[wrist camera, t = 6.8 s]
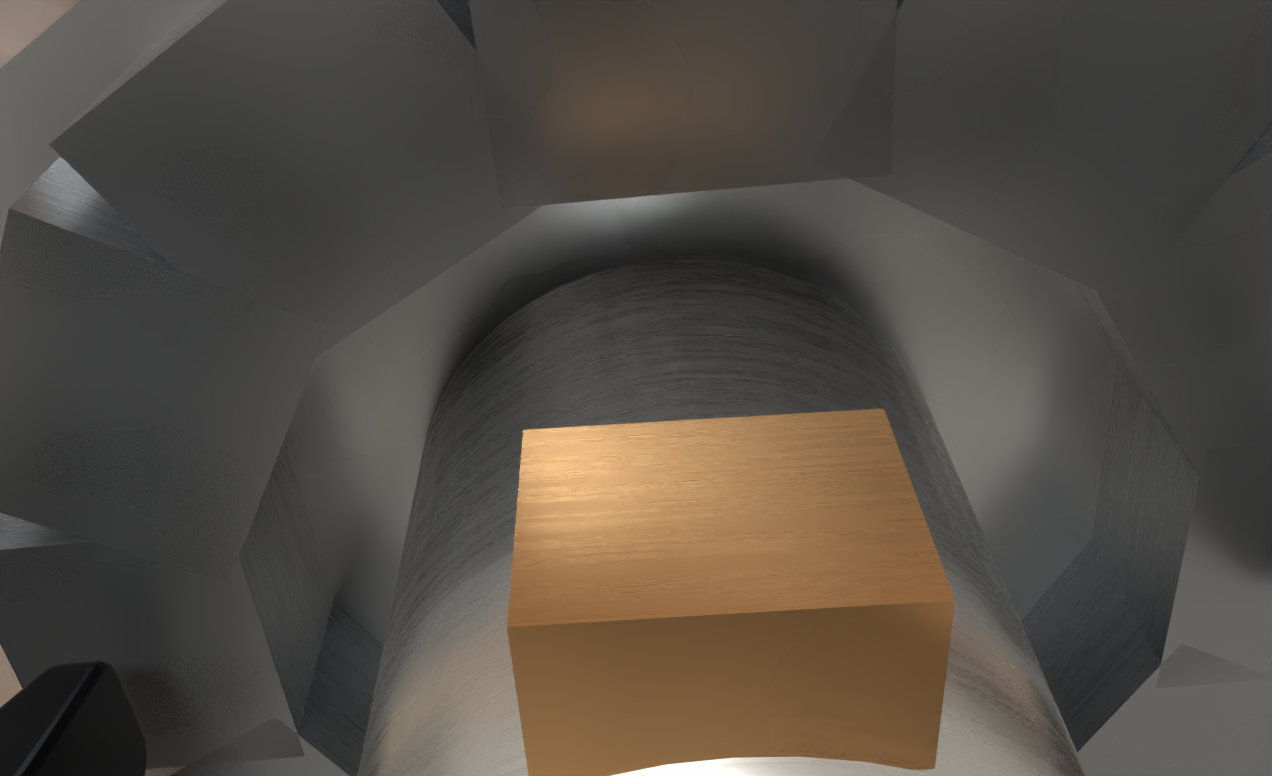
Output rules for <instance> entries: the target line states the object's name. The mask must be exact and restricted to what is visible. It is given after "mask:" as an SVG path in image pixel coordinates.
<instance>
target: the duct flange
mask: <svg viewBox="0 0 1272 776" xmlns="http://www.w3.org/2000/svg"><path fill="white" fill-rule="evenodd" d="M669 259H710V260H718V261H726V262H735V263H743V264H748V265H752V266H756V267H760V268H764V269H768V270H772V271H777V272H780V273H783V274H786V275H788V276H791V277H793V278H796V279H799V280H801V281H804V282H806V283H809V284H812V285H814V286H816V287H818V288H819V289H821V290H823V291H825V292H827V293H829V294H830V295H832V296H834V297H836V298H838V299H840V300H841V301H843V302H845V303H846V304H847V305H849V306H850V307H851V308H853V309H854V310H855V311H857V312H858V313H859V314H861V315H862V316H864V317H865V318H866V319H868V320H869V321H870V322H871V323H872V324H873V325H874V326H875V327H876V328H877V329H878V330H879V331H880V332H881V333H882V334H883V335H884V336H885V337H886V338H887V339H888V340H889V341H890V342H891V343H892V344H893V345H894V347H895V348H896V349H897V351H898V352H899V354H900V355H901V356H902V358H903V359H904V360H905V362H906V363H907V364H908V366H909V367H910V369H911V371H912V373H913V375H914V377H915V379H916V381H917V383H918V385H919V387H920V388H921V390H922V392H923V395H924V397H925V399H926V402H927V404H928V406H929V408H930V411H931V413H932V415H933V418H934V420H935V422H936V425H937V427H938V429H939V432H940V434H941V436H942V439H943V441H944V443H945V446H946V448H947V450H948V453H949V455H950V457H951V460H952V462H953V464H954V467H955V469H956V471H957V474H958V476H959V478H960V481H961V483H962V485H963V488H964V490H965V492H966V495H967V497H968V499H969V502H970V504H971V506H972V509H973V511H974V513H975V516H976V518H977V520H978V523H979V525H980V527H981V530H982V532H983V534H984V537H985V539H986V541H987V544H988V546H989V548H990V551H991V553H992V555H993V557H994V560H995V562H996V564H997V567H998V569H999V571H1000V574H1001V576H1002V578H1003V581H1004V583H1005V585H1006V588H1007V590H1008V592H1009V595H1010V597H1011V599H1012V602H1013V604H1014V606H1015V609H1016V611H1017V613H1018V616H1019V618H1020V620H1021V623H1022V625H1023V627H1024V630H1025V632H1026V634H1027V637H1028V639H1029V641H1030V644H1031V646H1032V648H1033V651H1034V653H1035V655H1036V658H1037V660H1038V662H1039V665H1040V667H1041V669H1042V672H1043V674H1044V676H1045V679H1046V681H1047V683H1048V686H1049V688H1050V690H1051V693H1052V695H1053V697H1054V700H1055V702H1056V704H1057V707H1058V709H1059V711H1060V713H1061V716H1062V718H1063V720H1064V723H1065V725H1066V727H1067V730H1068V732H1069V734H1070V737H1071V739H1072V741H1073V744H1074V746H1075V748H1076V751H1077V753H1078V755H1079V758H1080V760H1081V762H1082V765H1083V767H1084V769H1085V772H1086V774H1087V776H1272V0H81V1H80V2H79V3H78V4H76V5H75V6H74V7H73V8H72V9H70V10H69V11H68V12H67V13H66V14H65V15H63V16H62V17H61V18H60V19H59V20H57V21H56V22H55V23H54V24H53V25H52V26H50V27H49V28H48V29H47V30H46V31H44V32H43V33H42V34H41V35H40V36H39V37H37V38H36V39H35V40H34V41H33V42H31V43H30V44H29V45H28V46H27V47H26V48H24V49H23V50H22V51H21V52H20V53H18V54H17V55H16V56H15V57H14V58H13V59H11V60H10V61H9V62H8V63H7V64H5V65H4V66H3V67H2V68H1V69H0V644H1V646H2V648H3V650H4V652H5V654H6V656H7V658H8V660H9V662H10V664H11V666H12V668H13V670H14V672H15V674H16V676H17V678H18V680H19V682H20V684H21V686H22V688H24V687H26V686H27V685H28V684H29V683H30V682H31V681H33V680H34V679H35V678H36V677H37V676H39V675H40V674H41V673H42V672H44V671H45V670H47V669H48V668H50V667H52V666H55V665H59V664H68V663H81V662H93V661H102V662H107V663H109V664H110V665H112V666H113V667H114V668H115V669H116V671H117V673H118V675H119V676H120V679H121V681H122V683H123V686H124V688H125V690H126V693H127V695H128V697H129V700H130V702H131V704H132V707H133V709H134V711H135V714H136V716H137V718H138V721H139V723H140V725H141V728H142V730H143V733H144V736H145V740H146V745H147V767H146V773H145V776H357V775H358V770H359V765H360V760H361V755H362V750H363V745H364V741H365V736H366V731H367V726H368V721H369V716H370V711H371V706H372V701H373V696H374V691H375V686H376V681H377V676H378V671H379V666H380V661H381V656H382V651H383V646H384V641H385V636H386V631H387V626H388V621H389V616H390V611H391V606H392V602H393V597H394V592H395V587H396V582H397V577H398V572H399V567H400V562H401V557H402V552H403V547H404V542H405V537H406V532H407V527H408V522H409V517H410V512H411V507H412V502H413V497H414V492H415V487H416V482H417V477H418V472H419V467H420V463H421V458H422V453H423V448H424V444H425V439H426V435H427V431H428V427H429V422H430V420H431V417H432V415H433V413H434V410H435V408H436V405H437V403H438V400H439V398H440V396H441V394H442V392H443V390H444V389H445V387H446V386H447V384H448V382H449V381H450V379H451V377H452V376H453V374H454V372H455V371H456V369H457V368H458V367H459V365H460V364H461V363H462V362H463V360H464V359H465V358H466V357H467V356H468V354H469V353H470V352H471V351H472V350H473V348H474V347H475V346H476V345H477V344H478V343H479V342H480V341H481V340H482V339H483V338H484V337H485V336H487V335H488V334H489V333H490V332H491V331H492V330H493V329H494V328H495V327H496V326H497V325H499V324H500V323H501V322H502V321H503V320H505V319H506V318H508V317H509V316H511V315H512V314H513V313H515V312H516V311H518V310H519V309H521V308H522V307H524V306H525V305H526V304H528V303H529V302H531V301H533V300H535V299H537V298H539V297H541V296H543V295H544V294H546V293H548V292H550V291H552V290H554V289H556V288H558V287H560V286H562V285H564V284H567V283H570V282H572V281H575V280H578V279H581V278H583V277H586V276H589V275H591V274H594V273H597V272H601V271H605V270H609V269H613V268H618V267H622V266H626V265H630V264H635V263H644V262H652V261H661V260H669Z"/></svg>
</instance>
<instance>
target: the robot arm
mask: <svg viewBox="0 0 1272 776" xmlns="http://www.w3.org/2000/svg"><path fill="white" fill-rule="evenodd" d="M146 767H147V745H146V740H145V736H144V733H143V730H142V728H141V725H140V723H139V721H138V718H137V716H136V714H135V711H134V709H133V707H132V704H131V702H130V700H129V697H128V695H127V693H126V690H125V688H124V686H123V683H122V681H121V679H120V676H119V675H118V673H117V671H116V669H115V668H114V667H113V666H112V665H110V664H109V663H107V662H102V661H93V662H81V663H68V664H59V665H55V666H52V667H50V668H48V669H47V670H45V671H44V672H42V673H41V674H40V675H39V676H37V677H36V678H35V679H34V680H33V681H31V682H30V683H29V684H28V685H27V686H26V687H24V688H23V689H22V690H21V691H20V692H18V693H17V694H16V695H15V696H14V697H13V698H11V699H10V700H9V701H8V702H7V703H5V704H4V705H3V706H2V707H1V708H0V776H145V773H146Z"/></svg>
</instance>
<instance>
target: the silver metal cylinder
mask: <svg viewBox="0 0 1272 776" xmlns="http://www.w3.org/2000/svg"><path fill="white" fill-rule="evenodd" d="M357 776H1087V774H1086V772H1085V769H1084V767H1083V765H1082V762H1081V760H1080V758H1079V755H1078V753H1077V751H1076V748H1075V746H1074V744H1073V741H1072V739H1071V737H1070V734H1069V732H1068V730H1067V727H1066V725H1065V723H1064V720H1063V718H1062V716H1061V713H1060V711H1059V709H1058V707H1057V704H1056V702H1055V700H1054V697H1053V695H1052V693H1051V690H1050V688H1049V686H1048V683H1047V681H1046V679H1045V676H1044V674H1043V672H1042V669H1041V667H1040V665H1039V662H1038V660H1037V658H1036V655H1035V653H1034V651H1033V648H1032V646H1031V644H1030V641H1029V639H1028V637H1027V634H1026V632H1025V630H1024V627H1023V625H1022V623H1021V620H1020V618H1019V616H1018V613H1017V611H1016V609H1015V606H1014V604H1013V602H1012V599H1011V597H1010V595H1009V592H1008V590H1007V588H1006V585H1005V583H1004V581H1003V578H1002V576H1001V574H1000V571H999V569H998V567H997V564H996V562H995V560H994V557H993V555H992V553H991V551H990V548H989V546H988V544H987V541H986V539H985V537H984V534H983V532H982V530H981V527H980V525H979V523H978V520H977V518H976V516H975V513H974V511H973V509H972V506H971V504H970V502H969V499H968V497H967V495H966V492H965V490H964V488H963V485H962V483H961V481H960V478H959V476H958V474H957V471H956V469H955V467H954V464H953V462H952V460H951V457H950V455H949V453H948V450H947V448H946V446H945V443H944V441H943V439H942V436H941V434H940V432H939V429H938V427H937V425H936V422H935V420H934V418H933V415H932V413H931V411H930V408H929V406H928V404H927V402H926V399H925V397H924V395H923V392H922V390H921V388H920V387H919V385H918V383H917V381H916V379H915V377H914V375H913V373H912V371H911V369H910V367H909V366H908V364H907V363H906V362H905V360H904V359H903V358H902V356H901V355H900V354H899V352H898V351H897V349H896V348H895V347H894V345H893V344H892V343H891V342H890V341H889V340H888V339H887V338H886V337H885V336H884V335H883V334H882V333H881V332H880V331H879V330H878V329H877V328H876V327H875V326H874V325H873V324H872V323H871V322H870V321H869V320H868V319H866V318H865V317H864V316H862V315H861V314H859V313H858V312H857V311H855V310H854V309H853V308H851V307H850V306H849V305H847V304H846V303H845V302H843V301H841V300H840V299H838V298H836V297H834V296H832V295H830V294H829V293H827V292H825V291H823V290H821V289H819V288H818V287H816V286H814V285H812V284H809V283H806V282H804V281H801V280H799V279H796V278H793V277H791V276H788V275H786V274H783V273H780V272H777V271H772V270H768V269H764V268H760V267H756V266H752V265H748V264H743V263H735V262H726V261H718V260H710V259H669V260H661V261H652V262H644V263H635V264H630V265H626V266H622V267H618V268H613V269H609V270H605V271H601V272H597V273H594V274H591V275H589V276H586V277H583V278H581V279H578V280H575V281H572V282H570V283H567V284H564V285H562V286H560V287H558V288H556V289H554V290H552V291H550V292H548V293H546V294H544V295H543V296H541V297H539V298H537V299H535V300H533V301H531V302H529V303H528V304H526V305H525V306H524V307H522V308H521V309H519V310H518V311H516V312H515V313H513V314H512V315H511V316H509V317H508V318H506V319H505V320H503V321H502V322H501V323H500V324H499V325H497V326H496V327H495V328H494V329H493V330H492V331H491V332H490V333H489V334H488V335H487V336H485V337H484V338H483V339H482V340H481V341H480V342H479V343H478V344H477V345H476V346H475V347H474V348H473V350H472V351H471V352H470V353H469V354H468V356H467V357H466V358H465V359H464V360H463V362H462V363H461V364H460V365H459V367H458V368H457V369H456V371H455V372H454V374H453V376H452V377H451V379H450V381H449V382H448V384H447V386H446V387H445V389H444V390H443V392H442V394H441V396H440V398H439V400H438V403H437V405H436V408H435V410H434V413H433V415H432V417H431V420H430V422H429V427H428V431H427V435H426V439H425V444H424V448H423V453H422V458H421V463H420V467H419V472H418V477H417V482H416V487H415V492H414V497H413V502H412V507H411V512H410V517H409V522H408V527H407V532H406V537H405V542H404V547H403V552H402V557H401V562H400V567H399V572H398V577H397V582H396V587H395V592H394V597H393V602H392V606H391V611H390V616H389V621H388V626H387V631H386V636H385V641H384V646H383V651H382V656H381V661H380V666H379V671H378V676H377V681H376V686H375V691H374V696H373V701H372V706H371V711H370V716H369V721H368V726H367V731H366V736H365V741H364V745H363V750H362V755H361V760H360V765H359V770H358V775H357Z"/></svg>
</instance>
